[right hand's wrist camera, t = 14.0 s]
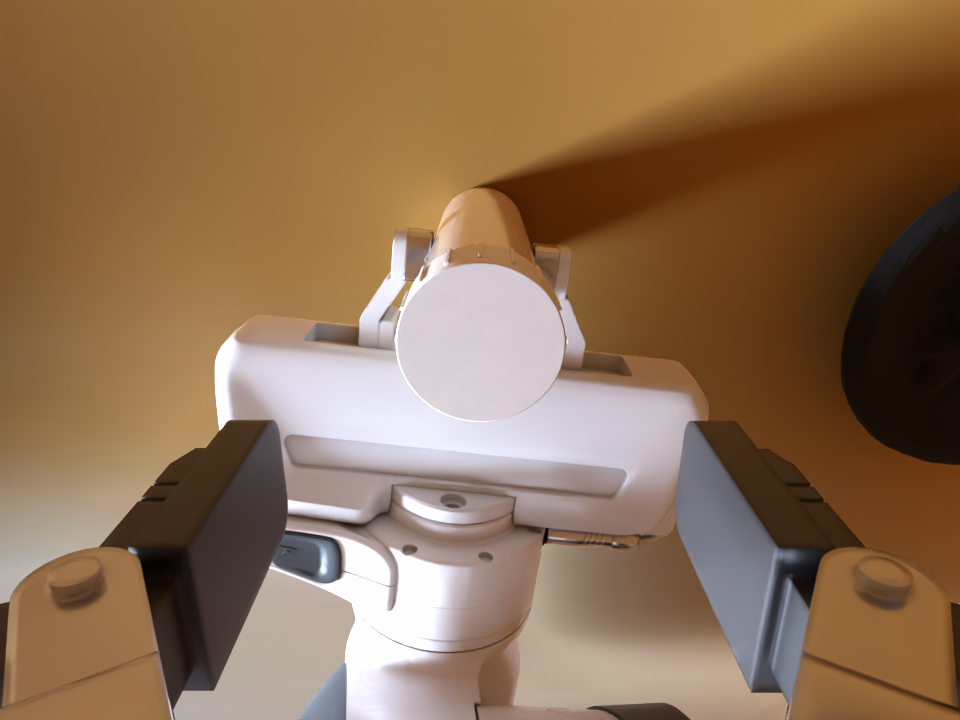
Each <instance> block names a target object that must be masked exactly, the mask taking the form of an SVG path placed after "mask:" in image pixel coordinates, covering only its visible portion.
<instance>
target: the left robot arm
mask: <svg viewBox="0 0 960 720" xmlns="http://www.w3.org/2000/svg"><path fill="white" fill-rule="evenodd" d="M433 242H434V231H431V230H424V229H416V228H410V227H399V226H398V228H397V229H396V231H395V235H394V241H393V252H392V266H391V271H390V273H389V274H388V275H387V277H386V278H385V280H384V281H383V283H382V284H381V285H380V287H379V288H378V290H377V291H376V293H375V294H374V295H373V297H372V298H371V300H370V301H369V302H368V304H367V306H366V308H365V309H364V311H363V313H362V315H361V316H360V323H359V325H353V324H344V323H335V322H326V321H317V320H308V319H299V318H290V317H281V316H273V315H256V316H254V317H252V318H251V319H249V320H248V321H247V322H246V323H244V324H243V325H242V326H241V327H239V328H238V329H237V330H236V331H235V332H234V333H233V334H232V335H231V336H230V337H229V338H228V339H227V340H226V342H225V343H224V344H223V345H222V347H221V348H220V350H219V352H218V355H217V357H216V363H215V388H216V402H217V412H218V421H219V428H220V430H221V428H222V427H223V426H224V425H225V423H226V422H227V421H229V420H274V421H275V422H276V423H277V425H278V428H279V432H280V440H281V448H282V456H283V464H284V473H285V481H286V489H287V498H288V517H287V524H286V529H285V533H284V536H283V538H282V541H281V543H280V545H279V547H278V549H277V552H276V554H275V556H274V558H273V561H272V563H271V565H270V567H269V568H271V569H274V570H277V571H280V572H283V573H285V574H288V575H291V576H293V577H296V578H299V579H301V580H304V581H306V582H309V583H312V584H314V585H316V586H319V587H321V588H323V589H326V590H328V591H330V592H332V593H334V594H336V595H338V596H341V597H343V598H344V599H346V600H348V601H350V602H352V605H353V609H354V613H355V616H356V622H355V624H354V626H353V628H352V631H351V633H350V636H349V639H348V643H347V648H346V656H345V663H344V664H342V665H341V666H340V667H339V668H337V669H336V670H335V671H334V672H333V673H332V674H331V675H330V677H329V678H328V679H327V680H326V681H325V682H324V684H323V685H322V686H321V688H320V689H319V690H318V691H317V693H316V694H315V695H314V696H313V698H312V699H311V700H310V702H309V703H308V704H307V705H306V707H305V708H304V710H303V712H302V715H301V717H300V719H299V720H691V719H689V718H688V717H687V716H686V715H685V714H683V713H682V712H681V711H680V710H679V709H677V708H676V707H674V706H672V705H670V704H667V703H647V704H628V705H608V706H593V707H590V708H587V709H568V708H547V707H527V706H513V701H514V697H515V692H516V687H517V682H518V677H519V668H520V653H519V647H518V642H517V637H518V636H519V634H520V633H521V631H522V629H523V627H524V625H525V624H526V622H527V619H528V616H529V613H530V610H531V605H532V600H533V594H534V588H535V583H536V577H537V572H538V566H539V561H540V556H541V548H542V545H544V544H554V545H564V546H575V547H582V546H583V547H587V546H592V547H594V546H595V547H605V548H609V549H610V550H615V551H636V550H638V548H639V546H640V544H647V543H651V542H654V541H656V540H658V539H660V538H662V537H663V536H667V535H669V533H670V532H671V531H672V530H673V528H674V526H675V523H676V512H675V504H676V494H677V485H678V477H679V469H680V461H681V453H682V445H683V437H684V431H685V428H686V425H687V423H688V422H689V421H708V417H709V405H708V401H707V399H706V397H705V395H704V393H703V391H702V390H701V388H700V386H699V385H698V383H697V382H696V380H695V379H694V378H693V377H692V375H691V374H690V373H689V372H688V371H687V369H686V368H685V367H684V366H683V365H682V364H680V363H679V362H677V361H674V360H667V359H658V358H649V357H640V356H631V355H622V354H613V353H604V352H595V351H586V350H585V347H586V342H585V339H584V336H583V334H582V331H581V329H580V326H579V324H578V321H577V319H576V316H575V313H574V311H573V308H572V306H571V303H570V301H569V298H568V296H567V288H568V282H569V276H570V270H571V264H572V251H571V249H570V248H569V246H562V245H554V244H544V243H534V242H533V245H532V251H533V254H534V258H535V261H536V264H537V265H538V266H539V267H540V269H541V272H542V274H543V276H544V277H545V278H546V280H547V282H548V284H549V285H550V287H551V290H552V291H554V290H555V292H556V294H557V297H558V300H559V302H560V305H561V307H562V310H560V314H561V317H562V320H563V324H564V328H565V334H566V337H567V341H566V348H565V355H564V361H563V364H562V367H561V370H560V372H559V374H558V376H557V378H556V380H555V382H554V383H553V385H552V386H551V388H550V389H549V390H548V391H547V393H546V394H545V395H544V396H543V397H542V398H541V399H540V400H539V401H537V402H536V403H535V404H534V405H532V406H531V407H529V408H528V409H526V410H524V411H523V412H521V413H519V414H517V415H514V416H511V417H509V418H505V419H501V420H497V421H489V422H473V421H465V420H460V419H456V418H453V417H450V416H448V415H445V414H443V413H441V412H439V411H437V410H435V409H434V408H432V407H431V406H429V405H428V404H427V403H425V402H424V401H423V400H422V399H421V398H420V397H419V396H418V395H417V394H416V393H415V392H414V391H413V390H412V388H411V387H410V385H409V384H408V382H407V381H406V379H405V377H404V375H403V373H402V371H401V368H400V365H399V362H398V358H397V353H396V342H395V336H396V330H397V326H398V321H399V318H400V310H399V308H398V307H395V306H390V304H391V303H392V301H393V300H394V299H395V297H396V296H397V294H398V293H399V292H400V290H401V289H402V287H403V286H404V284H405V283H406V282H407V280H411V281H415V280H416V278H417V277H418V276H419V274H420V271H421V268H422V267H423V266H424V265H426V262H427V259H428V256H429V253H430V251H431V248H432V245H433ZM640 534H643V535H640Z"/></svg>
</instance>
